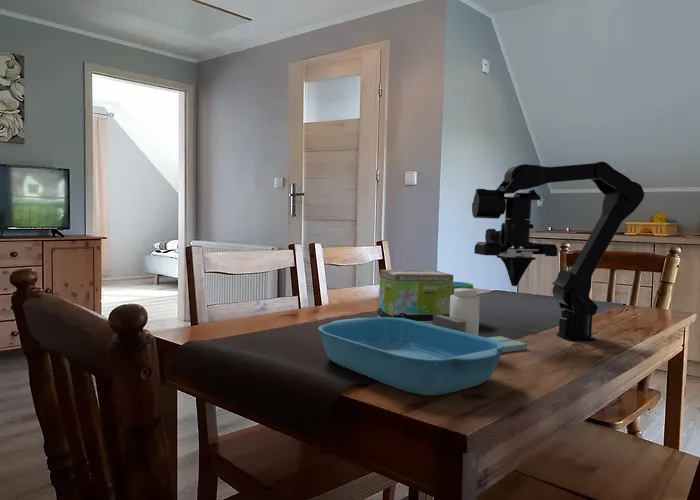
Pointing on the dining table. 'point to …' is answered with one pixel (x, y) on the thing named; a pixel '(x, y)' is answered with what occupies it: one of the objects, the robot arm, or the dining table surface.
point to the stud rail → (508, 343)
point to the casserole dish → (411, 353)
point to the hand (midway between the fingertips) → (514, 286)
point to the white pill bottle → (466, 308)
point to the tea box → (414, 294)
